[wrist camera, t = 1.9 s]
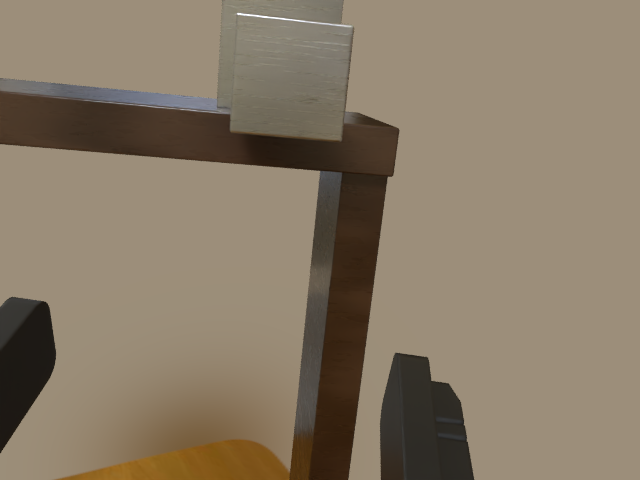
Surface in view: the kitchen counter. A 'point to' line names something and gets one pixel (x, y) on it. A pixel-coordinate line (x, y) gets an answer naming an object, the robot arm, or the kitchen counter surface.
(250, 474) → the kitchen counter surface
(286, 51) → the silver stand
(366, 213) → the dark brown arch frame
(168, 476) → the kitchen counter surface
